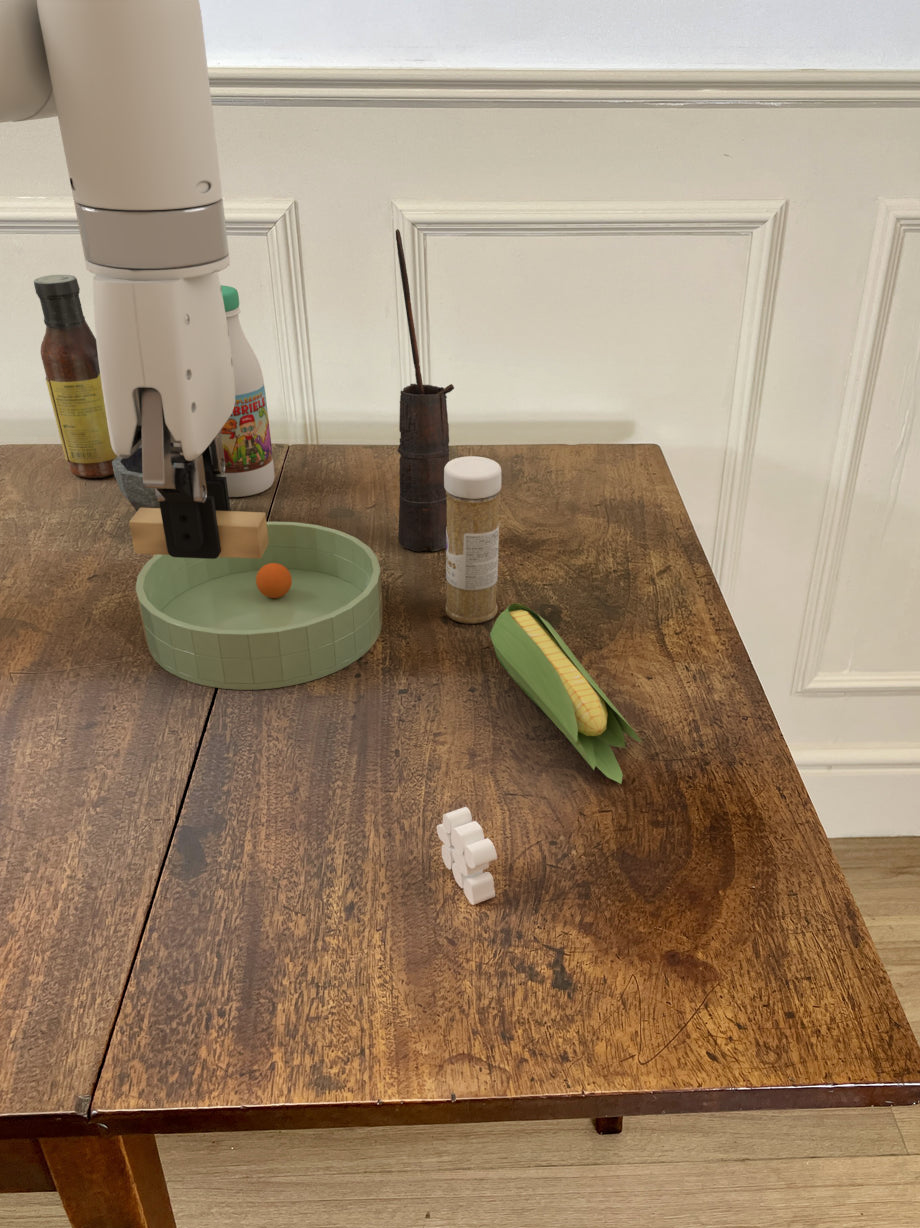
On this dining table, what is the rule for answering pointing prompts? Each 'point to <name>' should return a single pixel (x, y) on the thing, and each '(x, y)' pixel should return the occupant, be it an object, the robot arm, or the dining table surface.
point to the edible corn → (560, 686)
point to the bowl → (263, 611)
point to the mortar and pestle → (135, 480)
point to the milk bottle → (245, 414)
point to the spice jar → (472, 538)
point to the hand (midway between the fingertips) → (201, 543)
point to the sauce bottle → (74, 378)
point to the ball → (273, 580)
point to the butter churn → (421, 450)
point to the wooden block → (235, 528)
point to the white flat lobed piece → (467, 854)
